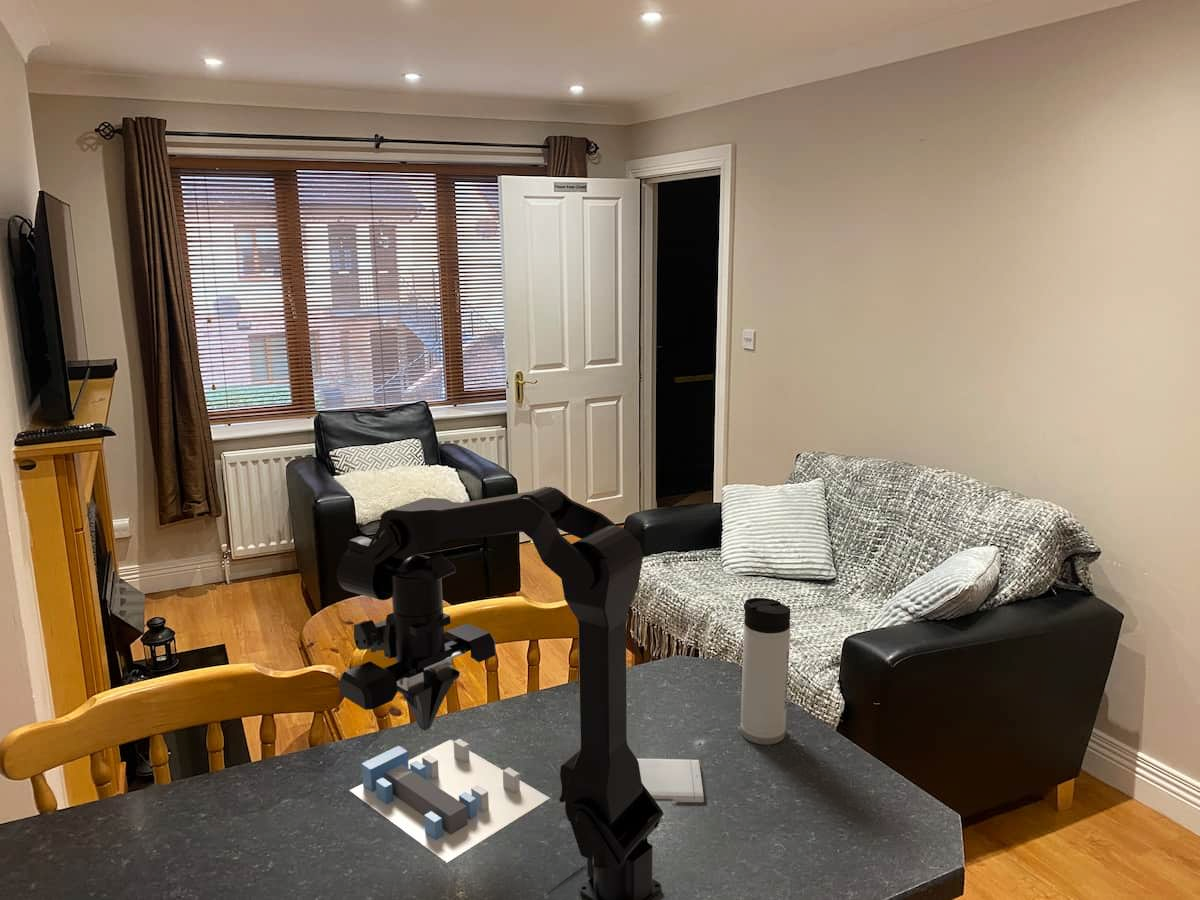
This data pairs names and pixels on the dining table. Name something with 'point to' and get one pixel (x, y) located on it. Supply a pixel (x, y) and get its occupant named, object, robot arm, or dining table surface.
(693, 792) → the hard drive
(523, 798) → the board
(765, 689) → the travel mug
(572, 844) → the dining table surface
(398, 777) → the dark grey bar
